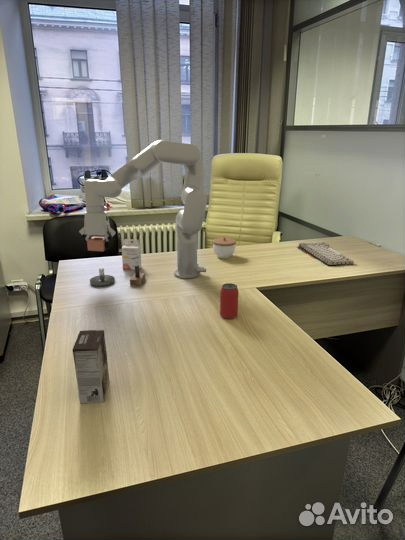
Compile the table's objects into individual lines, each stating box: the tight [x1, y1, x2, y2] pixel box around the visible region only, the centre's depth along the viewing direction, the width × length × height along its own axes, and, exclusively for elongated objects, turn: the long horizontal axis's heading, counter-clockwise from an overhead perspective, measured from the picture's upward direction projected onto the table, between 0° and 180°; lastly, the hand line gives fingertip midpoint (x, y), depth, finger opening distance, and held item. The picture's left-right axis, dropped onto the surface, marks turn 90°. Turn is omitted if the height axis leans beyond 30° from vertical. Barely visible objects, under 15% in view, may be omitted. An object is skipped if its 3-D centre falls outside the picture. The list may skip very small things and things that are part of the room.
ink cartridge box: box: [121, 238, 142, 271], centre depth 185 cm, size 9×5×15 cm, turn 84°
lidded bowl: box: [212, 236, 237, 259], centre depth 204 cm, size 13×13×11 cm
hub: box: [89, 267, 116, 288], centre depth 169 cm, size 11×11×7 cm
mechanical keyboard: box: [296, 241, 355, 268], centre depth 209 cm, size 38×19×3 cm, turn 12°
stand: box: [129, 265, 146, 287], centre depth 168 cm, size 5×9×8 cm, turn 173°
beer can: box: [219, 282, 239, 320], centre depth 137 cm, size 7×7×12 cm
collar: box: [86, 235, 106, 252], centre depth 163 cm, size 7×7×4 cm
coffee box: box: [72, 329, 110, 404], centre depth 95 cm, size 9×6×16 cm
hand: (98, 248), depth 164 cm, fingers closed on collar, 7 cm apart
